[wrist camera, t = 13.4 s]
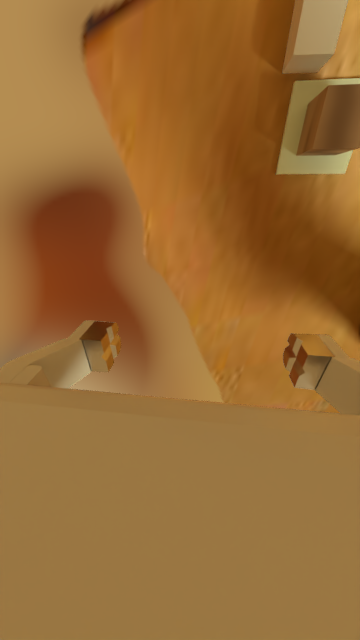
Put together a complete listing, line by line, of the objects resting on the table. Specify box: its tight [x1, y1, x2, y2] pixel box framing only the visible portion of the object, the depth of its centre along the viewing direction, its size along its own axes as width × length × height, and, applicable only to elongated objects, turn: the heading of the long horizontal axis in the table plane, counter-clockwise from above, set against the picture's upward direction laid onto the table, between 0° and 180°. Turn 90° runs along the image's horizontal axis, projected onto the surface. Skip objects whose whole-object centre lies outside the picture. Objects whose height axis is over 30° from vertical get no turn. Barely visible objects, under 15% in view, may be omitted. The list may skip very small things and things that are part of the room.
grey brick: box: [282, 0, 348, 74], centre depth 21 cm, size 8×4×4 cm, turn 179°
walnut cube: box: [296, 84, 360, 156], centre depth 24 cm, size 5×5×5 cm
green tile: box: [275, 78, 360, 175], centre depth 26 cm, size 9×9×1 cm
